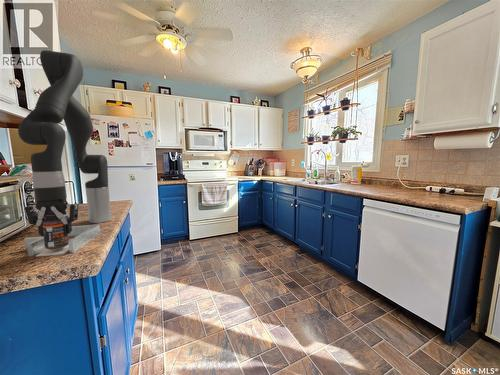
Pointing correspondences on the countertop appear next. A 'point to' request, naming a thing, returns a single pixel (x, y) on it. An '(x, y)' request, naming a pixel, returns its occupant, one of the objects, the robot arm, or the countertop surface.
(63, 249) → the pad
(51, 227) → the supplement bottle
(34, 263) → the countertop surface
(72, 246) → the grey angled wall frame
